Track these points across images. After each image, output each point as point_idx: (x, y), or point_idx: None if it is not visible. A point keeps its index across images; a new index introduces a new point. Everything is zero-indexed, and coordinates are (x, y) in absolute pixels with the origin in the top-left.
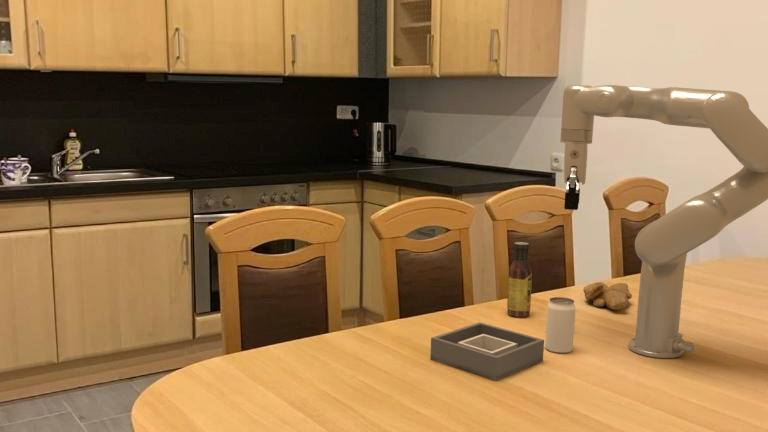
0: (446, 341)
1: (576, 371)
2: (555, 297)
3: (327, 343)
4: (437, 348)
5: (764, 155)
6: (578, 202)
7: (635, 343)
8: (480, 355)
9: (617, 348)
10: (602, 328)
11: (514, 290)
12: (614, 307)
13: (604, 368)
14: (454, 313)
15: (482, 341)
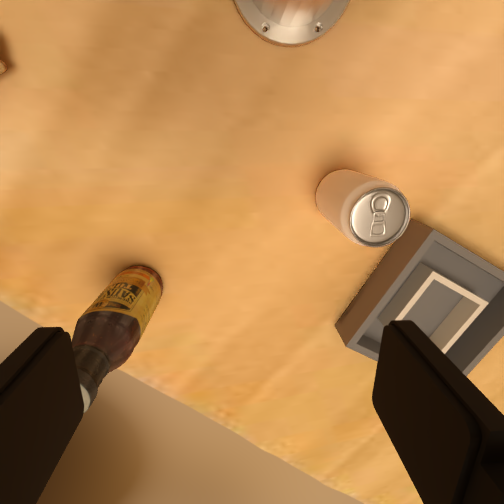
0: (464, 373)
1: (455, 159)
2: (354, 234)
3: (387, 486)
4: None
5: None
6: (48, 335)
7: (298, 26)
8: None
9: (302, 73)
10: (162, 104)
11: (148, 321)
12: (5, 66)
13: (432, 105)
14: (181, 384)
15: None
